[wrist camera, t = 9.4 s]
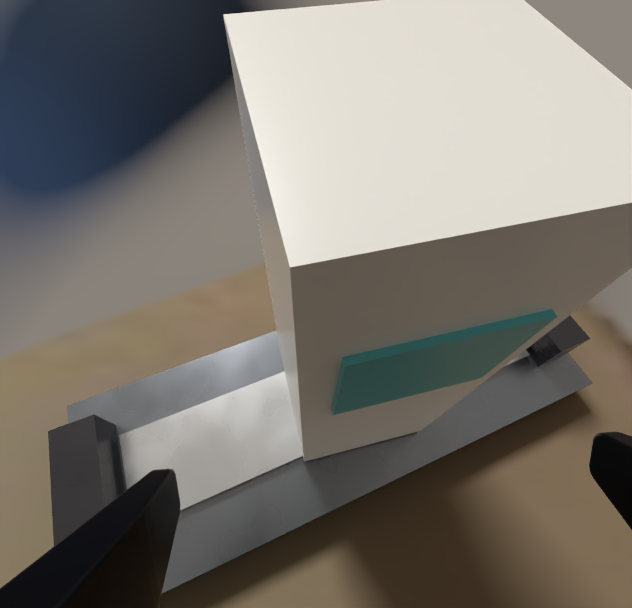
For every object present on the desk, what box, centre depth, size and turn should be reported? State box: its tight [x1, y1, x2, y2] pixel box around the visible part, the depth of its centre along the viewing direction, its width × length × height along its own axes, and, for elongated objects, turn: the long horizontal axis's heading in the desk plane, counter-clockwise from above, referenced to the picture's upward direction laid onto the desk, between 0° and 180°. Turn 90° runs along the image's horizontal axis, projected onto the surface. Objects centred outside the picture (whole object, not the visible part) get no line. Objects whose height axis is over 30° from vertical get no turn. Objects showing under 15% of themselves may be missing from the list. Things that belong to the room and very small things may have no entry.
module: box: [224, 0, 632, 462], centre depth 10 cm, size 5×5×13 cm
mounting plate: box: [48, 316, 592, 594], centre depth 16 cm, size 8×22×3 cm, turn 113°
